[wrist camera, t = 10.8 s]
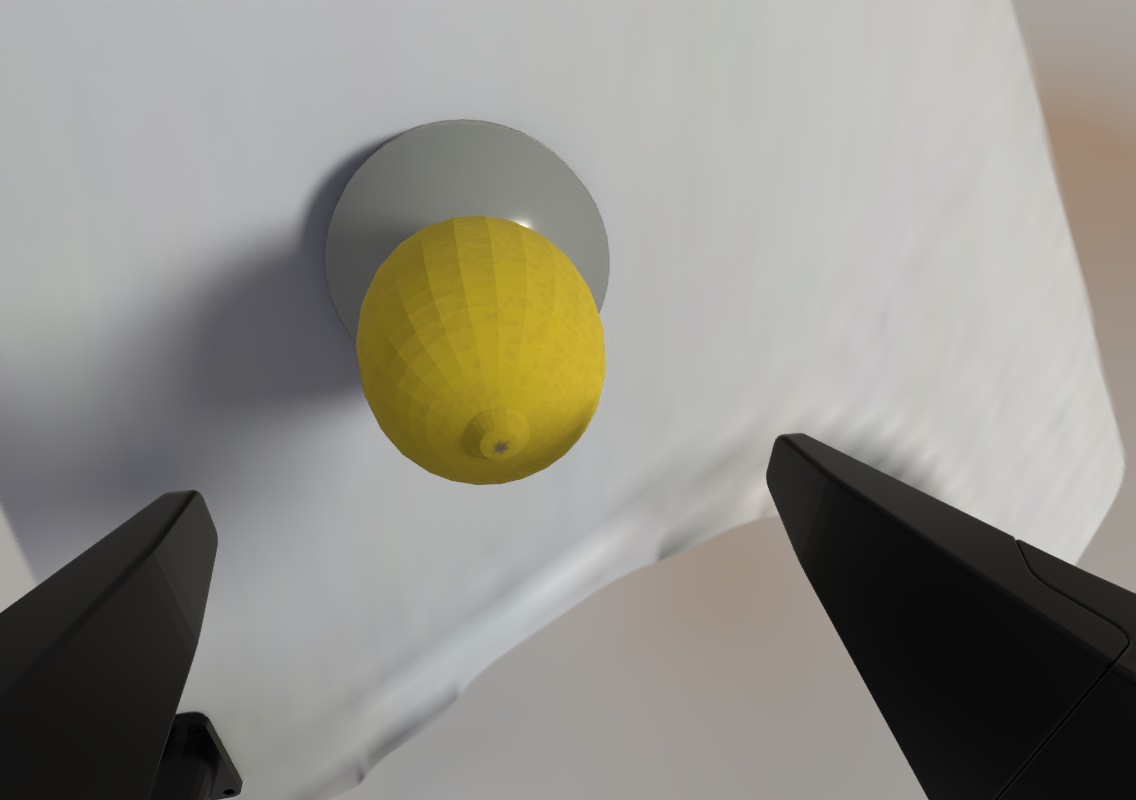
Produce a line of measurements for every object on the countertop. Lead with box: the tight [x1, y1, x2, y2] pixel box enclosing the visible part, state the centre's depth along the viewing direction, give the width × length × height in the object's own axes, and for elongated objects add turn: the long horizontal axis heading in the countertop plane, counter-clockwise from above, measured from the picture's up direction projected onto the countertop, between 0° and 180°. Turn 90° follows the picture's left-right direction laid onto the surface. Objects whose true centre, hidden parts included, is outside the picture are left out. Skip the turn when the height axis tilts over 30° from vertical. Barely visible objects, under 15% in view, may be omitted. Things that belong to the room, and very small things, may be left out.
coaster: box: [325, 119, 609, 342], centre depth 18 cm, size 8×8×1 cm
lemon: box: [356, 215, 605, 485], centre depth 14 cm, size 6×6×8 cm
